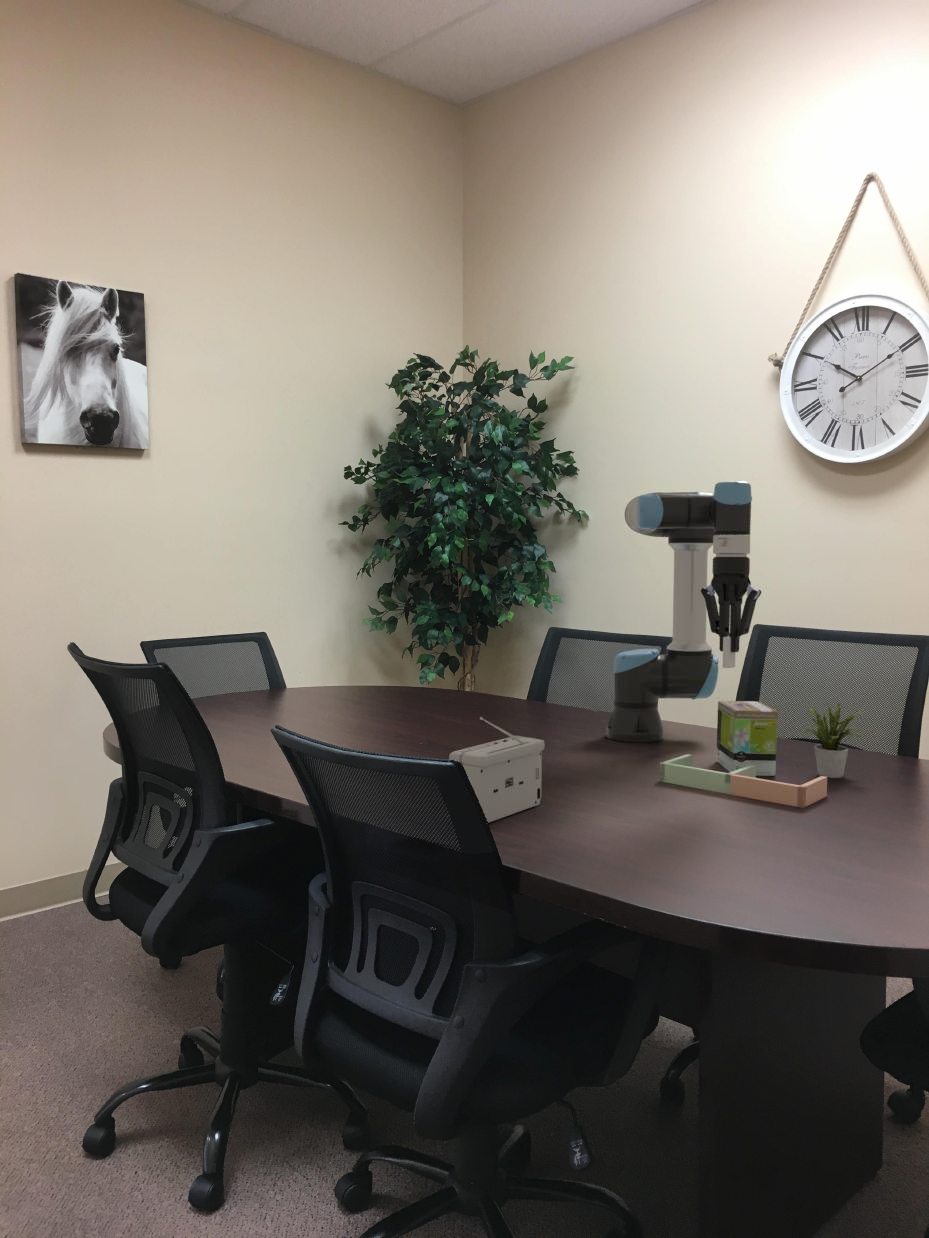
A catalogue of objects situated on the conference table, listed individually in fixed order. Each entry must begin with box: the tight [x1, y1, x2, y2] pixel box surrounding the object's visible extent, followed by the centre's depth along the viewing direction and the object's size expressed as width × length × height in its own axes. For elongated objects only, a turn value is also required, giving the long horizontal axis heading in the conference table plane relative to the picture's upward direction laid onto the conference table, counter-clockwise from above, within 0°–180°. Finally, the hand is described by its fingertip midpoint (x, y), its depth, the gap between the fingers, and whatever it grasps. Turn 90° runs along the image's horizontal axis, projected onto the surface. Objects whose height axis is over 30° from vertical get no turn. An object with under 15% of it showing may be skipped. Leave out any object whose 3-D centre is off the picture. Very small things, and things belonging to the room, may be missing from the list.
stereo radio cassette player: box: [448, 716, 546, 824], centre depth 180 cm, size 21×8×20 cm, turn 141°
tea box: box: [715, 700, 779, 777], centre depth 216 cm, size 15×10×15 cm
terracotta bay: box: [729, 774, 828, 809], centre depth 193 cm, size 15×12×4 cm
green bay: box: [659, 753, 757, 795], centre depth 204 cm, size 16×12×4 cm
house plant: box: [803, 702, 865, 779], centre depth 209 cm, size 14×14×16 cm
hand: (728, 667), depth 201 cm, fingers closed
